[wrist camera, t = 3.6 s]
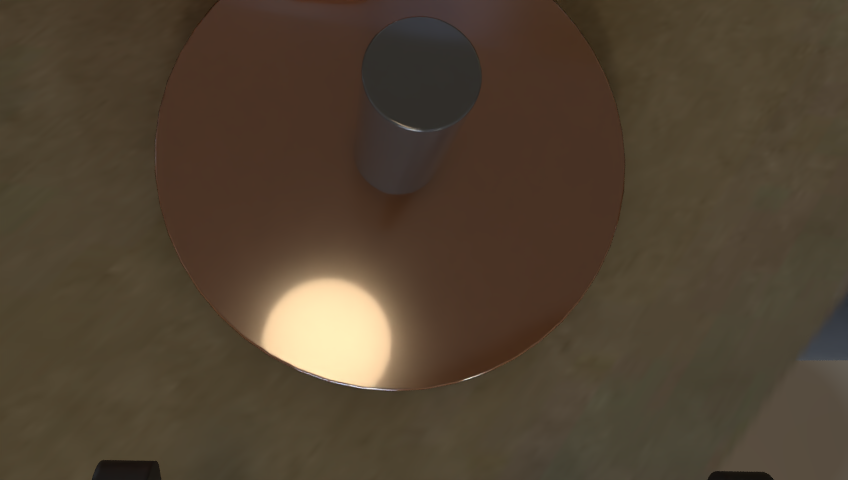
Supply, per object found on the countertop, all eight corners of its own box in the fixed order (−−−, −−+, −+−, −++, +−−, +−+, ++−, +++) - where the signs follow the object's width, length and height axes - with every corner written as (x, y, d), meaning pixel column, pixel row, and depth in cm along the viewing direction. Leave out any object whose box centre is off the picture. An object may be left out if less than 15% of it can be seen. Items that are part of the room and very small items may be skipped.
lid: (672, 60, 26) (809, -62, 19) (515, 463, 24) (601, 510, 16) (282, -119, 26) (262, -320, 18) (79, 275, 23) (-43, 233, 16)
